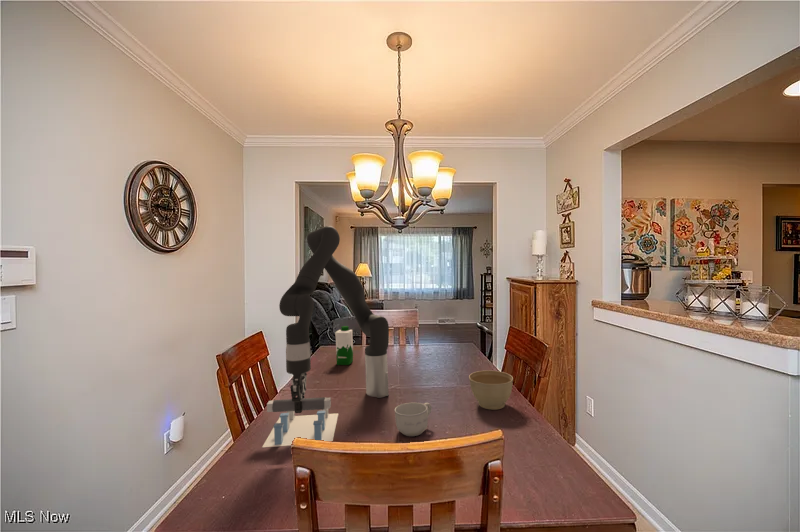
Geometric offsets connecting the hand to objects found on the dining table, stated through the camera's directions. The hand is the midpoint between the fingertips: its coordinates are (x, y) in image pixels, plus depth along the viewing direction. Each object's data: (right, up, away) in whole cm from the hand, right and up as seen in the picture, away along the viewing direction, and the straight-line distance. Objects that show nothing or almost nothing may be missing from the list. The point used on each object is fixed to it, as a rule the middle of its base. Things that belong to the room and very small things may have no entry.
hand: (299, 409), depth 115 cm
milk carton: (+2, -8, +83) cm, 83 cm away
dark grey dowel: (0, 0, 0) cm, 0 cm away
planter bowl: (+67, -7, +21) cm, 71 cm away
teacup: (+37, -8, +3) cm, 38 cm away
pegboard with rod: (0, -9, +5) cm, 10 cm away
